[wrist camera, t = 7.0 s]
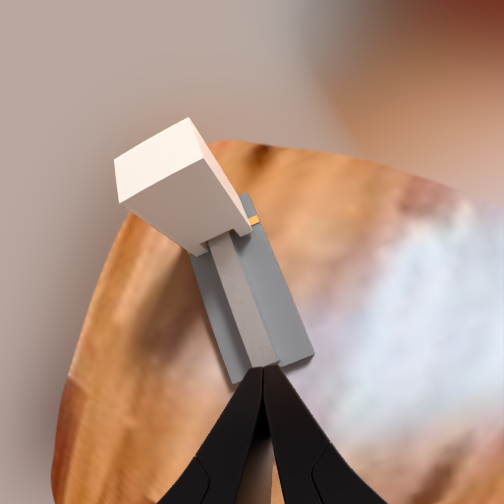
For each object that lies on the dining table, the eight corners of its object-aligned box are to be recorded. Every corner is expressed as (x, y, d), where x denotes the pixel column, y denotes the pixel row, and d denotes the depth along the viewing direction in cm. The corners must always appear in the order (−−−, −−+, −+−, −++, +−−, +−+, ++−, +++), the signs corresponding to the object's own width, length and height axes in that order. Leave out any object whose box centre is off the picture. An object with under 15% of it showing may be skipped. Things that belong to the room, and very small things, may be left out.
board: (314, 353, 20) (314, 354, 19) (236, 382, 20) (231, 384, 19) (250, 198, 24) (246, 191, 23) (184, 228, 25) (178, 223, 24)
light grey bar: (284, 358, 19) (280, 360, 17) (256, 368, 19) (249, 371, 18) (226, 209, 23) (218, 198, 22) (203, 219, 24) (193, 209, 22)
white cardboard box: (253, 231, 22) (203, 157, 13) (196, 256, 22) (119, 203, 13) (239, 198, 23) (188, 117, 14) (186, 223, 23) (114, 159, 14)
